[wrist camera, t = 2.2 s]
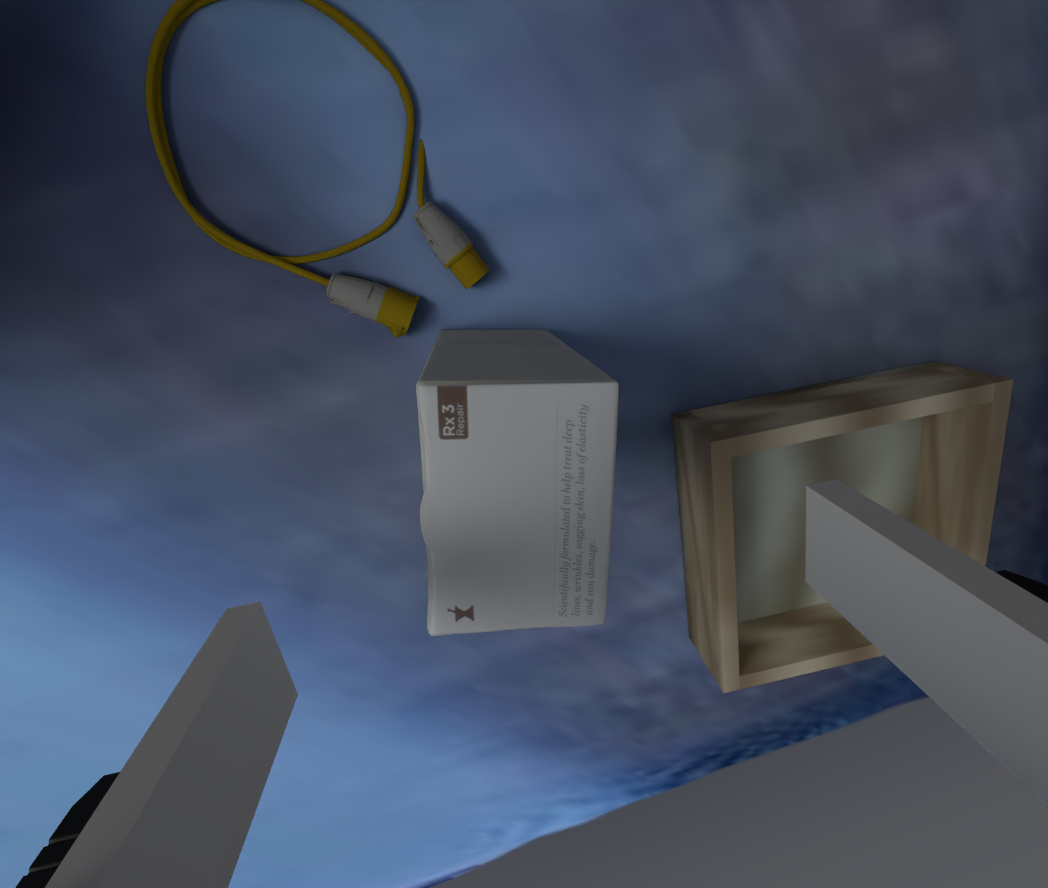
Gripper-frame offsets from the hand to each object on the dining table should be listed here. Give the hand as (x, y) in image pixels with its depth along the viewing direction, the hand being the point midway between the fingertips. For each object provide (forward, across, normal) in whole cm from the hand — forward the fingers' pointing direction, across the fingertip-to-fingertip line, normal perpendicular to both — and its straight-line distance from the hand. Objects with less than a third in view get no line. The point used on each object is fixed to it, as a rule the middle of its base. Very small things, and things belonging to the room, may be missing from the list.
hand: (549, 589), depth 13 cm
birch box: (+18, +18, -11) cm, 27 cm away
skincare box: (+18, 0, 0) cm, 18 cm away
